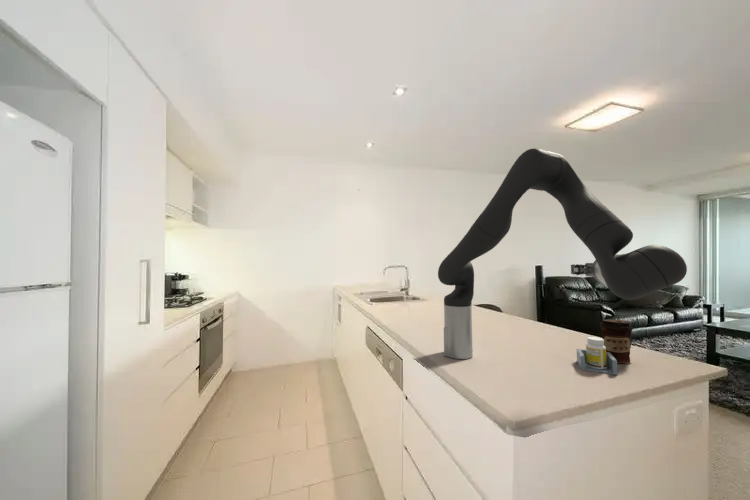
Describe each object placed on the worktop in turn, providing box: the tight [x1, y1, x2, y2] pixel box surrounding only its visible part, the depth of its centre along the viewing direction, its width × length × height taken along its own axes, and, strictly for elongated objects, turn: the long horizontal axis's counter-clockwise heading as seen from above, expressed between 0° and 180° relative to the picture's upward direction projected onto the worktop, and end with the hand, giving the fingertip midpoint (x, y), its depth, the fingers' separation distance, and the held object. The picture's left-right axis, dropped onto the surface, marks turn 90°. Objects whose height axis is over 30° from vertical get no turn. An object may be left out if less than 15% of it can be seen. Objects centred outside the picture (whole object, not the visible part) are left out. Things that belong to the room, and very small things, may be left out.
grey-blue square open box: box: [576, 348, 619, 376], centre depth 85 cm, size 8×8×4 cm
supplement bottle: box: [585, 336, 607, 369], centre depth 85 cm, size 5×5×8 cm
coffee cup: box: [599, 318, 634, 365], centre depth 91 cm, size 9×8×13 cm
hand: (600, 269), depth 77 cm, fingers open, 8 cm apart
